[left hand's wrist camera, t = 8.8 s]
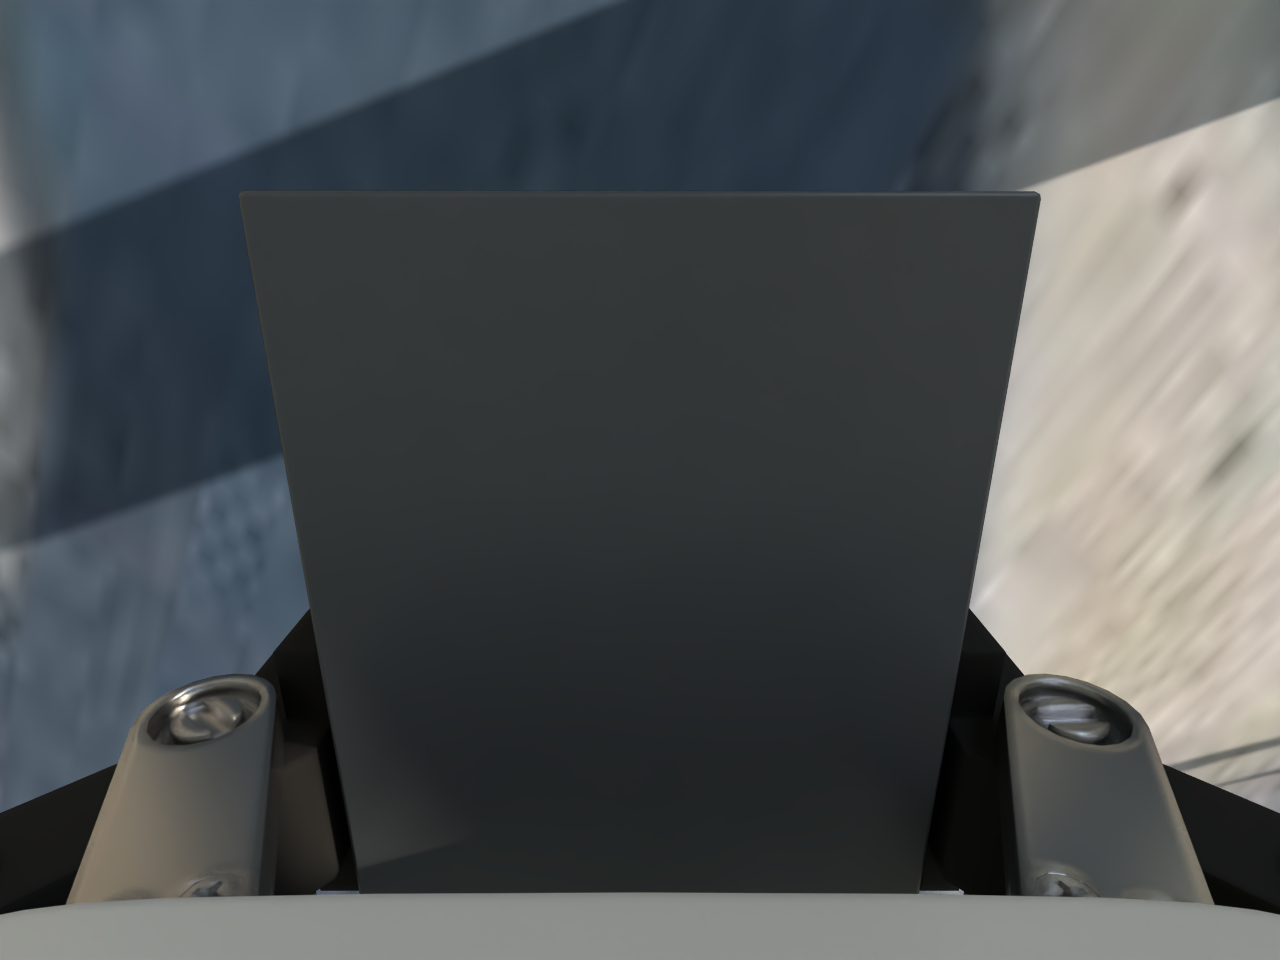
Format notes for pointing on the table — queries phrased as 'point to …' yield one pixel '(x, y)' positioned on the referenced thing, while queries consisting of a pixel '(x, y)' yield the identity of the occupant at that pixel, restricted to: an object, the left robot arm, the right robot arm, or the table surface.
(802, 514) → the post
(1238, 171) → the table surface
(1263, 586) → the table surface
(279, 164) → the table surface
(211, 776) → the left robot arm
